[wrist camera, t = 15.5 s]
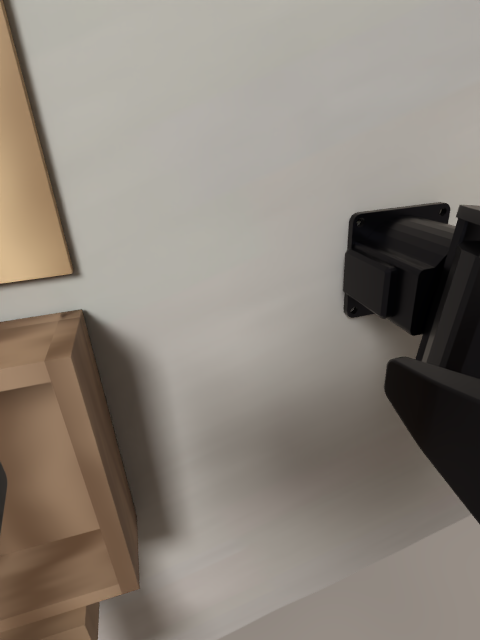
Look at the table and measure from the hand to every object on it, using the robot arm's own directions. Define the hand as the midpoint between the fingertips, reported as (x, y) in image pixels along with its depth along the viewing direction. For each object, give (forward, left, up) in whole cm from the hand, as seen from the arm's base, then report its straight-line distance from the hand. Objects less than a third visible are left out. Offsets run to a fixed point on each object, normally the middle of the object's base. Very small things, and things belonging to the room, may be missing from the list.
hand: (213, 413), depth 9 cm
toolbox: (+10, +12, -13) cm, 20 cm away
